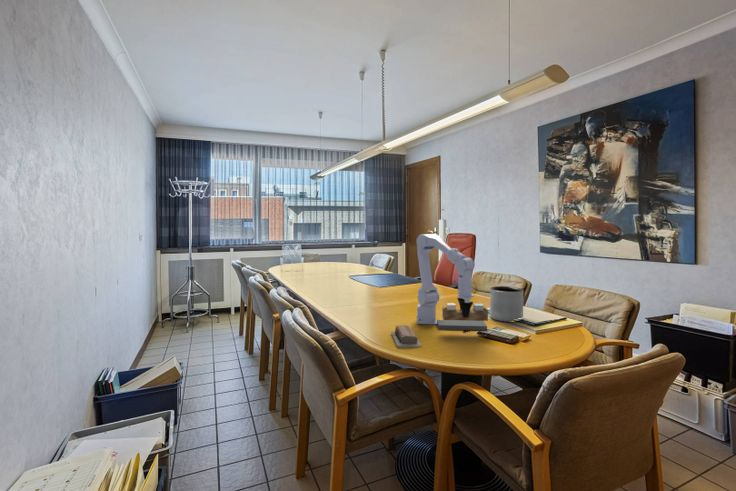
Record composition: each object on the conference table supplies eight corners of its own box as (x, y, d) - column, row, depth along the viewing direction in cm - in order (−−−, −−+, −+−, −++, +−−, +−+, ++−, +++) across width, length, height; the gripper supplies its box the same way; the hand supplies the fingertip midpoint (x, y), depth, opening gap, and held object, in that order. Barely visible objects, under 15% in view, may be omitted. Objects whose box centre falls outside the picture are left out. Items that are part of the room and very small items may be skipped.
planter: (498, 313, 200) (498, 284, 199) (528, 318, 189) (528, 288, 188) (484, 318, 189) (484, 288, 188) (514, 325, 178) (515, 293, 177)
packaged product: (390, 324, 165) (412, 324, 166) (391, 335, 165) (412, 334, 166) (397, 337, 147) (421, 336, 148) (397, 349, 147) (421, 348, 148)
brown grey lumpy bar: (443, 319, 163) (443, 309, 162) (442, 316, 168) (442, 306, 168) (487, 320, 160) (487, 310, 160) (485, 317, 166) (485, 307, 166)
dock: (438, 329, 172) (438, 324, 172) (436, 323, 182) (436, 319, 181) (487, 330, 169) (487, 326, 169) (482, 324, 179) (482, 320, 179)
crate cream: (447, 311, 163) (447, 305, 163) (446, 309, 167) (446, 303, 167) (455, 311, 163) (455, 305, 162) (454, 309, 166) (454, 303, 166)
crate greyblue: (475, 312, 162) (475, 305, 161) (473, 310, 166) (473, 303, 165) (483, 312, 161) (483, 305, 161) (481, 310, 165) (481, 303, 165)
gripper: (477, 288, 156) (476, 319, 157) (471, 282, 170) (471, 311, 171) (460, 288, 156) (459, 319, 157) (455, 282, 171) (455, 311, 172)
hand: (464, 315), depth 164 cm, fingers closed on brown grey lumpy bar, 5 cm apart
